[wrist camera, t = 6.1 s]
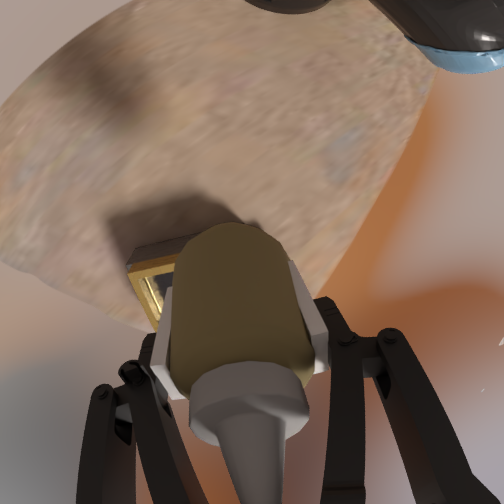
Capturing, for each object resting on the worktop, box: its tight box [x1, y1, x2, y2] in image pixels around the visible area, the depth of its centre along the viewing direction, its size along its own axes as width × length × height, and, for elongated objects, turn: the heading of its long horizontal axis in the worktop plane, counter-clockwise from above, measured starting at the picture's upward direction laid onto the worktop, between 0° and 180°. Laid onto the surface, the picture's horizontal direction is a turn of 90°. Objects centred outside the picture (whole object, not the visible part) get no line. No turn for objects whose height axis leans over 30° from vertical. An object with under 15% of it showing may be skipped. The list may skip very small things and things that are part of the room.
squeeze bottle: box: [170, 222, 315, 504], centre depth 14 cm, size 8×8×18 cm
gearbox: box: [126, 223, 244, 333], centre depth 38 cm, size 19×12×8 cm, turn 101°
